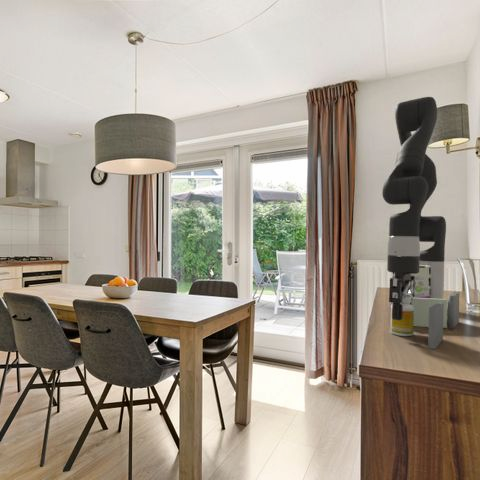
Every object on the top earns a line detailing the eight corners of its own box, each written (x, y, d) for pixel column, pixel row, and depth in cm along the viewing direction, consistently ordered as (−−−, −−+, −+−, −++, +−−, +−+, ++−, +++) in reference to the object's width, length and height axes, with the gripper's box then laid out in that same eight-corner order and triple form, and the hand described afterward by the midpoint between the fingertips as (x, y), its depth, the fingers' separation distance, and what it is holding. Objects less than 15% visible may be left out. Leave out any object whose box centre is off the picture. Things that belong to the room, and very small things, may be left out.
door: (444, 326, 98) (445, 299, 98) (446, 327, 97) (447, 299, 97) (394, 323, 100) (395, 296, 100) (396, 324, 99) (396, 297, 99)
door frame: (453, 321, 106) (454, 291, 106) (459, 322, 105) (460, 292, 105) (427, 347, 79) (428, 307, 79) (435, 349, 78) (436, 308, 78)
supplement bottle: (416, 337, 87) (416, 298, 87) (393, 335, 88) (393, 297, 88) (410, 332, 93) (410, 295, 93) (388, 330, 94) (389, 294, 94)
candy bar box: (428, 315, 114) (429, 265, 114) (430, 318, 110) (431, 266, 110) (391, 312, 119) (392, 263, 119) (391, 315, 114) (392, 264, 114)
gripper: (396, 253, 98) (394, 311, 98) (379, 253, 87) (377, 319, 87) (425, 254, 94) (424, 315, 94) (412, 255, 83) (410, 324, 83)
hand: (401, 317), depth 90 cm, fingers open, 8 cm apart
